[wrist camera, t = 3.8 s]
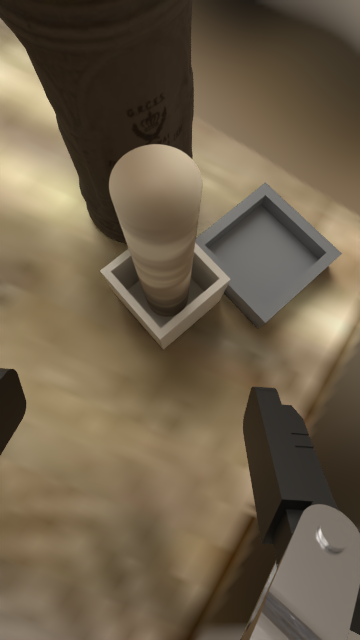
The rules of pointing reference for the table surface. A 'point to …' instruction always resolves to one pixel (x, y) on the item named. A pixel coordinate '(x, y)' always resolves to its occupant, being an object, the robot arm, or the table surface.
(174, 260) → the birch pin
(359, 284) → the table surface
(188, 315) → the light grey square box
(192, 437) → the table surface
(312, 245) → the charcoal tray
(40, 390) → the table surface
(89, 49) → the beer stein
